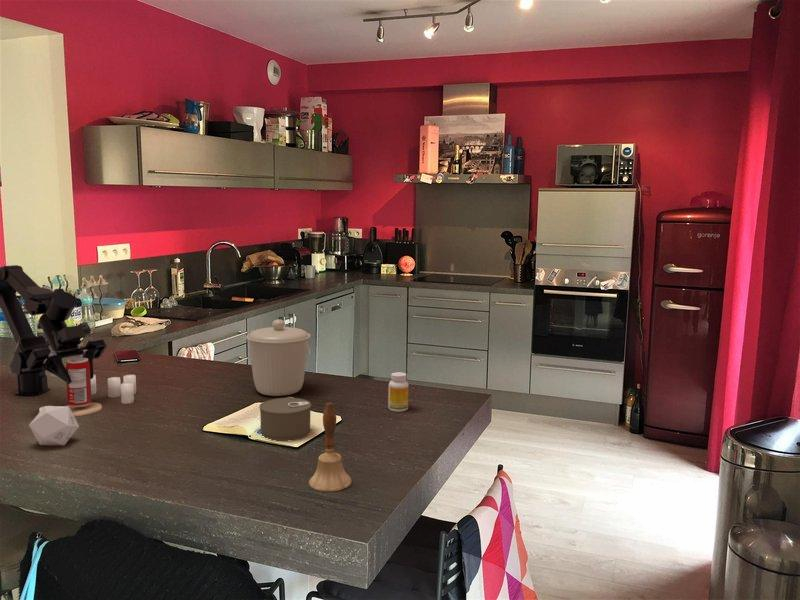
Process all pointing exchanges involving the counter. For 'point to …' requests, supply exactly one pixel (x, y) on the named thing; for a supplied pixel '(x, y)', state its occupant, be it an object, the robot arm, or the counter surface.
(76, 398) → the soda can
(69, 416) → the die
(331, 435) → the hand bell
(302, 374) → the canister
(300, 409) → the can
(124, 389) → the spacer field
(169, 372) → the counter surface
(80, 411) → the coaster
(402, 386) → the supplement bottle
